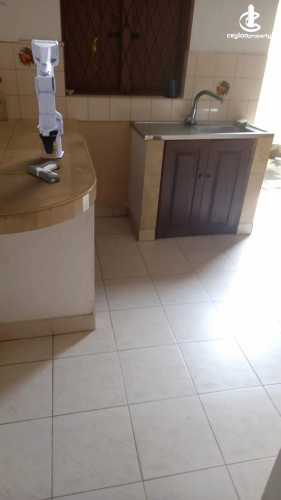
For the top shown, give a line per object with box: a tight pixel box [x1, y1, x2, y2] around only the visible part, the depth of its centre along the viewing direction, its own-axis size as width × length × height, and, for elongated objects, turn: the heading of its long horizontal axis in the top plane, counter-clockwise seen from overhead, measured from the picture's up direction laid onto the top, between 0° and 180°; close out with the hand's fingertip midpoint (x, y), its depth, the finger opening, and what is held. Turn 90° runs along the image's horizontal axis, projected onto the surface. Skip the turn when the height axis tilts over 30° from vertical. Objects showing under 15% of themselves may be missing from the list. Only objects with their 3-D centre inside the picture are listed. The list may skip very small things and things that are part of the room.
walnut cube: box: [40, 141, 58, 159], centre depth 131 cm, size 5×5×5 cm
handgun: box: [27, 160, 61, 184], centre depth 135 cm, size 2×18×12 cm
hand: (50, 151), depth 132 cm, fingers closed on walnut cube, 5 cm apart
